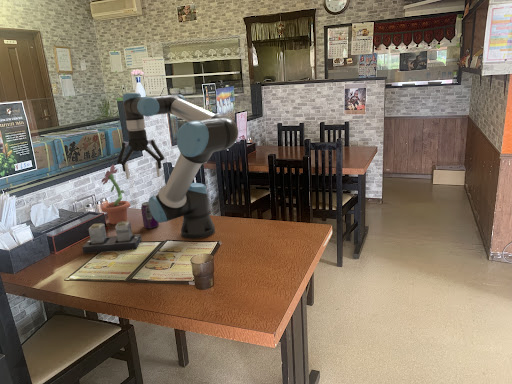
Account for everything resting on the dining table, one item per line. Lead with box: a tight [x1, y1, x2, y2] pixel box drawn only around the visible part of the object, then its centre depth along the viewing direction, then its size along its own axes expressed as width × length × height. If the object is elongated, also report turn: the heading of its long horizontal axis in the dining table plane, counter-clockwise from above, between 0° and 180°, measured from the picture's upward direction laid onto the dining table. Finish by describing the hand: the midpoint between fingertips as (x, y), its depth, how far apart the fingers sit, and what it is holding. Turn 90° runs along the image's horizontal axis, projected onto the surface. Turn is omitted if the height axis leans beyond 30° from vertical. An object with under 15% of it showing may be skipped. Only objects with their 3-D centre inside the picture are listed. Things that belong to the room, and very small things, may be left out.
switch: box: [81, 222, 142, 255], centre depth 168 cm, size 22×10×11 cm, turn 93°
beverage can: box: [140, 201, 160, 229], centre depth 189 cm, size 7×7×12 cm
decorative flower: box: [101, 164, 131, 225], centre depth 198 cm, size 15×14×30 cm
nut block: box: [115, 220, 133, 243], centre depth 168 cm, size 5×5×11 cm
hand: (143, 177), depth 175 cm, fingers open, 13 cm apart
